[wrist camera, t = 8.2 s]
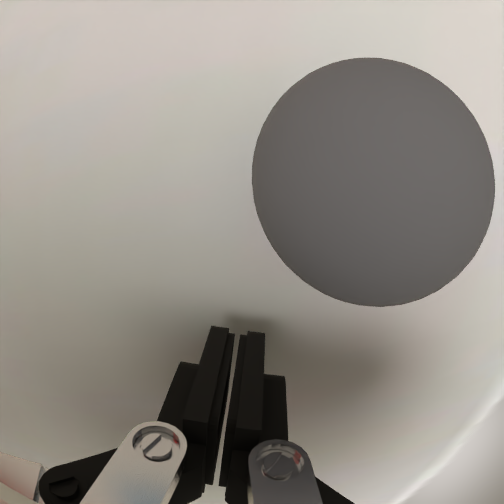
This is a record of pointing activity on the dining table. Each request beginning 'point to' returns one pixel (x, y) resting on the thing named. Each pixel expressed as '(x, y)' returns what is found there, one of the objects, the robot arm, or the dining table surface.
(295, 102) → the gray sphere
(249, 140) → the dining table surface
